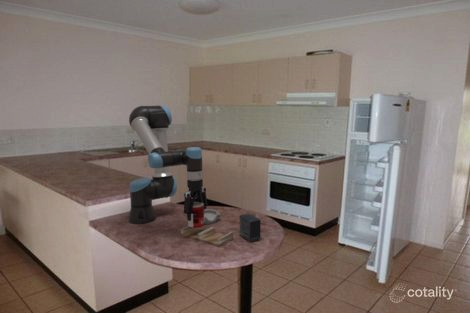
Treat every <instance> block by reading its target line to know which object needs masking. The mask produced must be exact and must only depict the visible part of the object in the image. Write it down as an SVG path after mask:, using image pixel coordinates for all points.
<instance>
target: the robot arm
mask: <svg viewBox="0 0 470 313" xmlns="http://www.w3.org/2000/svg"><path fill="white" fill-rule="evenodd" d="M172 116H173V115H172V112H171V111H170V109H169V107H167V106H166V105H139V106H137V107H135V108H134V109H133V110H131V112H130V114H129V118H128V124H129V126H130V127H131V129H132V130H133V131H134V132H136V134H137V137H139V139H140V141H141V143H142V144H143V147H144V148H145V149H146V152H147V153H148V155H147V162H148V165H149V168H151V169H154V173H153V175H152V176H151V177H152V179H151V178H150V177H141V178H137V179H134V180H132V181H131V182H130V183H129V196H130V197H129V198H130V210H129V215H128V222H129V223H131V224H135V225H137V224H138V225H140V224H143V225H144V224H148V223H151V222H154V221H155V220H156V219H157V216H156V212H155V209H154V208H153V202H152V201H155V200H159V199H165V198H166V199H167V198H170V197H171V198H172V197H173V196H175V194H176V193H177V189H178V182H177V179H176V177H174V175H173V174H172V173H171V171H170V167H177V166H186V178H187V180H186V182H187V183H186V184H187V188H188V192H184V194H183V197H184V201H183V202H184V203H183V214H186V220H187V226H190V227H193V214H192V209H193V205H194V202H196V200H197V202H200V203H203V204H204V214H205V210H207V209H208V198H207V188H206V187H204V185H203V184H204V182H203V152H202V151H203V150H202V148H201V147H197V146H193V147H191V146H190V147H186V149H185V148H183V149H182V148H181V149H180V148H179V149H177V150H171V151H169V147H168V138H167V131H168V130H169V129H170V128H169V126H170V125H172V121H173V117H172ZM189 211H190V212H189ZM204 222H205V218H204Z"/></svg>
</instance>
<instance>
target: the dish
mask: <svg viewBox="0 0 470 313" xmlns="http://www.w3.org/2000/svg"><path fill="white" fill-rule="evenodd" d="M204 218H205V222H204V225H211V224H213V223H217V222H218V221H219V218H221V213H220V212H219V211H218V210H216V209H211V208H210V209H208V208H206V209H205V214H204Z"/></svg>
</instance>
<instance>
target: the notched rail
mask: <svg viewBox="0 0 470 313" xmlns="http://www.w3.org/2000/svg"><path fill="white" fill-rule="evenodd" d="M180 236H181V237H183V238H186V239H190V240H193V241H197V242H201V243H204V244H207V245H211V246H214V247H217V248H221V247H222V246H224V245H225V244H227V243H228V242H229V243H230V242H231V241H232V240H233V239H234V232H233V231H230V232H228V233H227V234H224V233H221V232H216V227H214V226H211V227H209V228H207V229H204V228H201V227H199V228H192V227H190V226H188V225H187V226H186V227H183V228H181V229H180Z"/></svg>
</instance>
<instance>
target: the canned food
mask: <svg viewBox="0 0 470 313" xmlns="http://www.w3.org/2000/svg"><path fill="white" fill-rule="evenodd" d="M189 212H190V211H189ZM192 214H193V227H192V228H201V227H203V226H205V224H204V204H203V203H200V202H198V201H194V205H193V209H192Z"/></svg>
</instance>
